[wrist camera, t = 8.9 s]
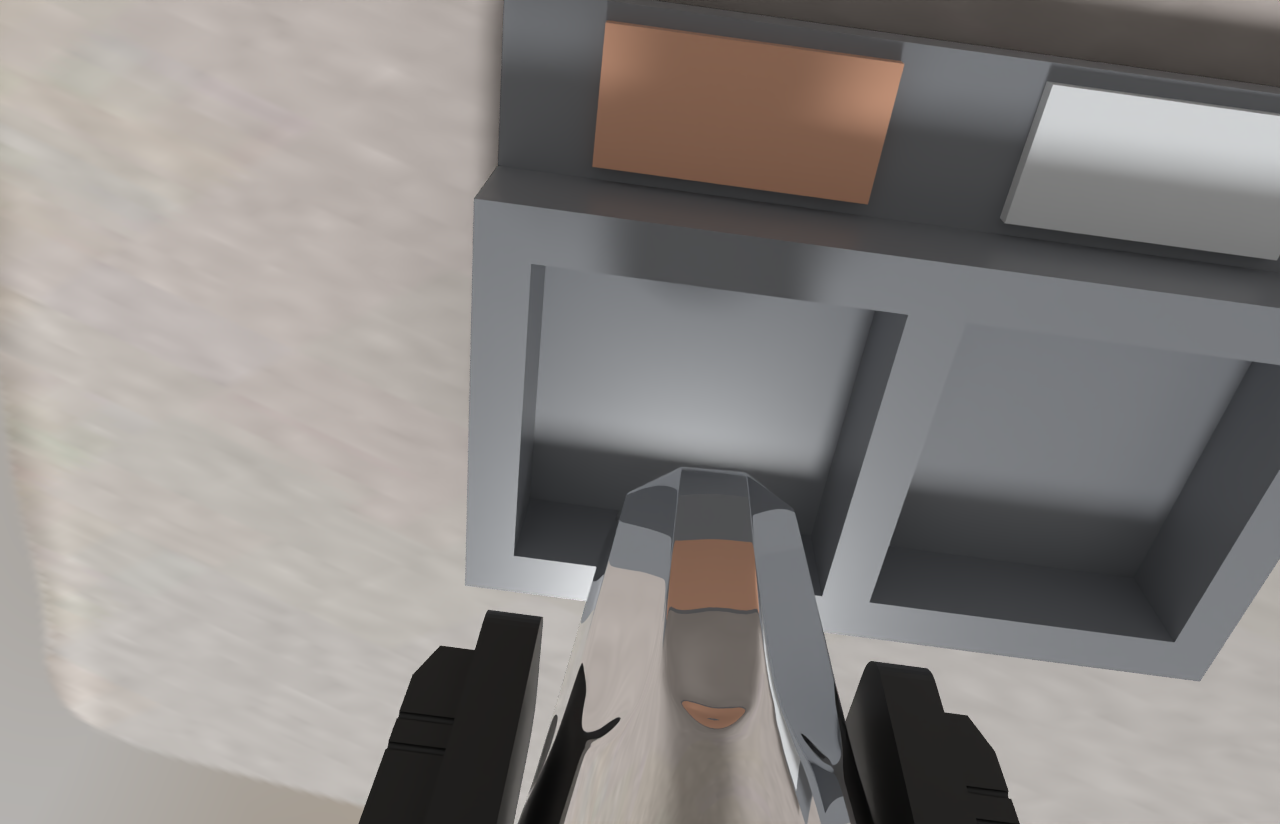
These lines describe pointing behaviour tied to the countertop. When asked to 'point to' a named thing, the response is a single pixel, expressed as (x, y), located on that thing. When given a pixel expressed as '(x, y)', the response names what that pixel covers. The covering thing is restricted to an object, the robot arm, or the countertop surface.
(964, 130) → the dock
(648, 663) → the milkshake
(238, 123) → the countertop surface
